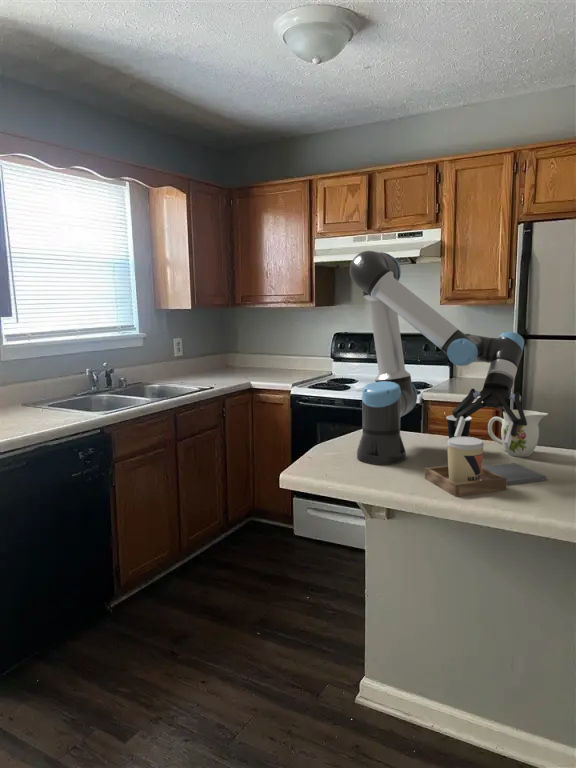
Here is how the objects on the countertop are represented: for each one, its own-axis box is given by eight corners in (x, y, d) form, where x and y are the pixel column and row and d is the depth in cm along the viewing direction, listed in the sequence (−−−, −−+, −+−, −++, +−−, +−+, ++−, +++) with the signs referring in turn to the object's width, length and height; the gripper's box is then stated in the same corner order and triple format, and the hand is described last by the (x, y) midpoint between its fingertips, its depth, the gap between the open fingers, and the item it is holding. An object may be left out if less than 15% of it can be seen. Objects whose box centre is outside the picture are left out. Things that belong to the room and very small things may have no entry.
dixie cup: (476, 450, 180) (477, 417, 179) (460, 455, 176) (461, 421, 174) (455, 446, 187) (456, 413, 185) (440, 450, 182) (441, 417, 180)
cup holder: (424, 478, 154) (425, 468, 154) (471, 472, 158) (472, 462, 158) (455, 496, 140) (455, 485, 139) (506, 489, 144) (506, 478, 144)
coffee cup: (470, 492, 143) (471, 447, 141) (439, 484, 150) (439, 440, 148) (489, 484, 149) (490, 440, 147) (458, 476, 156) (459, 434, 154)
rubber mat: (475, 471, 160) (476, 467, 160) (514, 466, 163) (514, 463, 163) (505, 485, 147) (505, 481, 147) (546, 479, 151) (546, 476, 151)
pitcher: (493, 445, 187) (494, 405, 185) (550, 453, 175) (553, 411, 173) (481, 452, 178) (482, 410, 176) (540, 462, 167) (542, 417, 165)
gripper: (548, 389, 155) (531, 455, 146) (461, 383, 170) (441, 442, 161) (544, 373, 150) (526, 440, 141) (454, 368, 165) (433, 428, 156)
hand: (480, 441), depth 151 cm, fingers open, 13 cm apart
